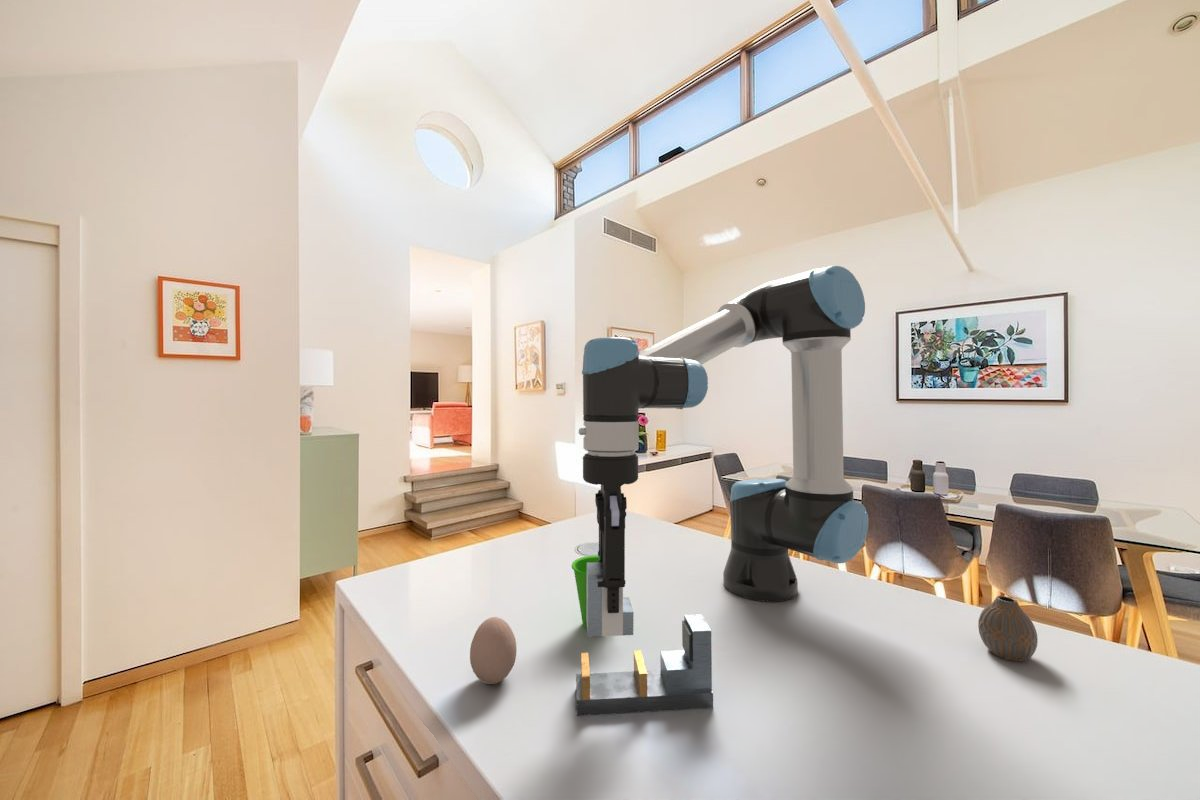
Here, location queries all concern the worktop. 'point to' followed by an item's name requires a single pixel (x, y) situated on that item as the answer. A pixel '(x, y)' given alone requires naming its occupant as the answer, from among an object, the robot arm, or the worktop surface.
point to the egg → (493, 650)
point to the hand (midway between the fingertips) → (610, 623)
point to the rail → (653, 679)
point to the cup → (583, 582)
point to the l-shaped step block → (596, 603)
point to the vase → (1007, 630)
